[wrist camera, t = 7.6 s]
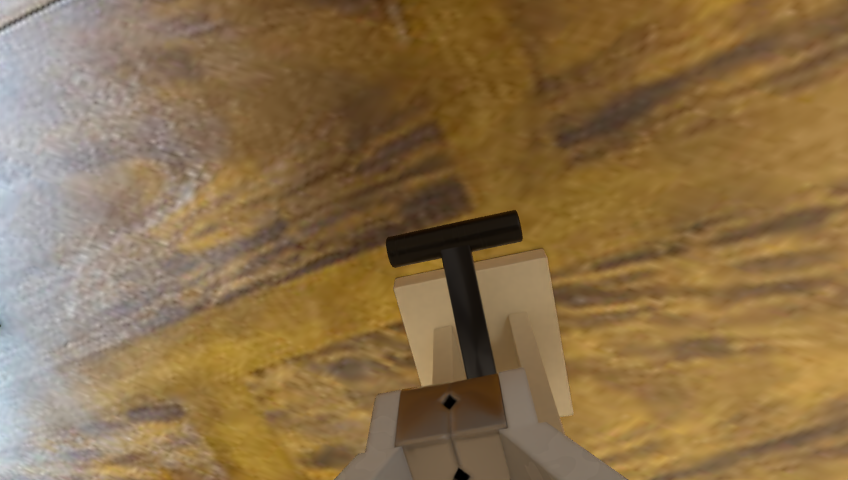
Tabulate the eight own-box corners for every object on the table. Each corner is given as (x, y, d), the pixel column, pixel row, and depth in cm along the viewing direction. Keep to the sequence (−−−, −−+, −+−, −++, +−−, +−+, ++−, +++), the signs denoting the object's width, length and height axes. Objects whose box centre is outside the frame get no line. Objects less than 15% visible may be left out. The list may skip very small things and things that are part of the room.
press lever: (392, 238, 21) (380, 236, 19) (514, 212, 20) (517, 206, 18) (452, 537, 20) (447, 575, 18) (581, 519, 20) (593, 555, 17)
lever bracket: (394, 278, 28) (359, 457, 16) (542, 247, 27) (623, 413, 15) (436, 423, 31) (433, 660, 19) (569, 401, 30) (651, 635, 18)
